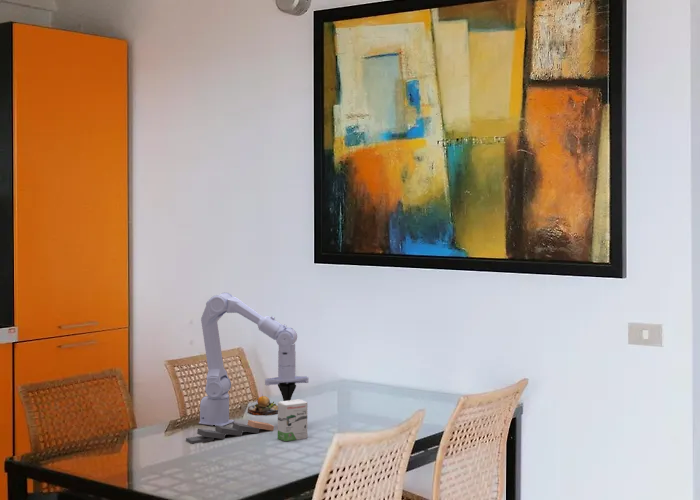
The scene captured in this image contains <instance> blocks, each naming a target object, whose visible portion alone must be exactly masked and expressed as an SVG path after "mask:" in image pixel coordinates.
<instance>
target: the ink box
mask: <svg viewBox="0 0 700 500" xmlns="http://www.w3.org/2000/svg"><path fill="white" fill-rule="evenodd" d="M277 405H278V414H277V439H278V440H281V441H283V442H291V441H297V440H298V441H299V440H302V439H303V440H305V439H308V402H307V401H305V400H303V399H301V398H297V399H291V400H289V401H283V400H282V401H281V400H279V402H277Z"/></svg>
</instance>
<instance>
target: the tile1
mask: <svg viewBox="0 0 700 500" xmlns="http://www.w3.org/2000/svg"><path fill="white" fill-rule="evenodd" d="M246 425H249V426H251V427H254V428H259V430H260V429H261V430H266V431H271V432H274V428H275V425H273V424H271V423H269V422H263V421H256V420H251V419H248V420H247V423H246Z"/></svg>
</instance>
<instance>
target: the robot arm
mask: <svg viewBox="0 0 700 500" xmlns="http://www.w3.org/2000/svg"><path fill="white" fill-rule="evenodd" d="M226 313H227V314H232V313H233V314H234V313H235V314H239V315H241V316H242V317H243V318H245V319H247V320H249V321H251V322H252V323H254V324H256V325H257V329H258V331H260V332H261V333H263V334H264V335H266V336H268V337H269V338H271V339H273V340H274V341H276V344H277V345H278V355H277V357H278V358H277V359H278V360H277V363H278V368H277V369H278V371H277V372H278V374H277V377H270V378H264V385H265V386H273V385H274V386H275V385H277V386H278V390H279V391H280V393H281V397H282V401H289V400H292V397H293V394H294V393H295V390H296V388H297V384H309V376H307V375H304V376H302V375H301V376H297V375H296V342H297V340H298V334H297V333H298V332H297V331H296V330H294V328H292V327H287V325H286V324H283V323H281V322H279V321H278V320H276V317H275V316H273V315H271V316H270V315H262V314H260V313H259V312H257V311H256V310H255V309H253V308H252V307H250V306H249V305H247V303H245V302H243V301H242V300H241V299H240V298H238V297H236V296H234V295H232V294H231V293H229V292H222V293H219V294H216V295H213V296H211V297H210V298H209V299H208V300H207V301H206V302H205V308H204V311H203V312H202V316H201V318H200V321H201V329H202V335H203V343H204V349H205V356H206V357H205V358H206V364H207V375H206V377H205V378H206V383H205V384H206V385H205V389H204V391H205V394H206V396H203V397H202V398H201V401H200V404H199V422H198V424H200V425H208V426H213V425H215V427H216V426H223V427H226V426H227V425H229V424H233V423H235V420H233V419H230V395H229V391H230V390H231V388H232V382H231V379H230V378H229V376H228V371H227V370H226V369H225V366H224V359H223V353H222V352H223V351H222V346H221V340H220V338H221V337H220V333H219V324H218V321H220V320H221V318H222V317H223V315H225V314H226Z"/></svg>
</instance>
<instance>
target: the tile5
mask: <svg viewBox="0 0 700 500" xmlns="http://www.w3.org/2000/svg"><path fill="white" fill-rule="evenodd" d="M213 440H214V441H215V438H210V437H204V436H201V435H198V436H191V437H186V438H185V441H186V442H187V443H190V444H192V445H193V444H194V445H195V444H200V443H207V442H213Z"/></svg>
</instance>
